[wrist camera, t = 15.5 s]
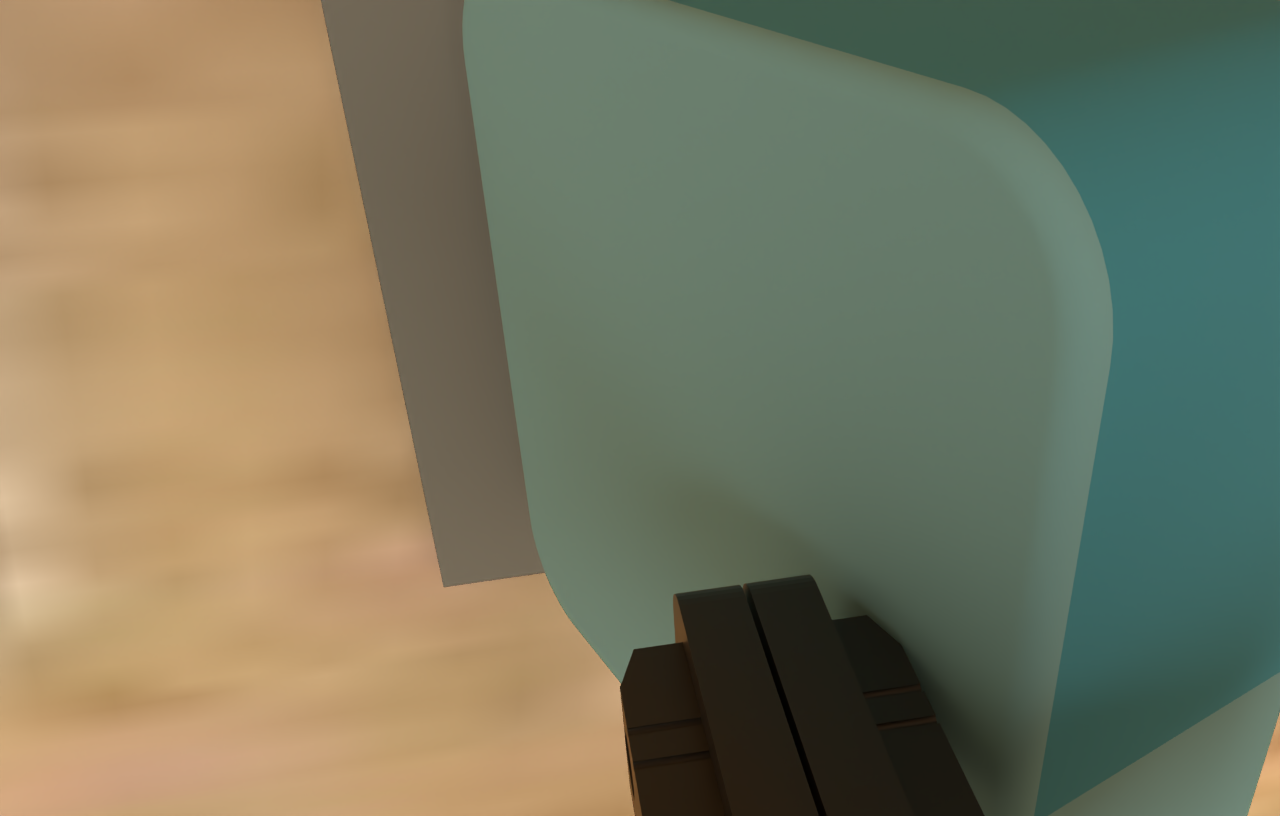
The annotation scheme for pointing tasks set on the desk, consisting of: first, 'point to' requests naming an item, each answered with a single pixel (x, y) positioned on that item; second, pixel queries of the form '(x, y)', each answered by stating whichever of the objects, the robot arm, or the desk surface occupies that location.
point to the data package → (915, 351)
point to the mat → (436, 274)
